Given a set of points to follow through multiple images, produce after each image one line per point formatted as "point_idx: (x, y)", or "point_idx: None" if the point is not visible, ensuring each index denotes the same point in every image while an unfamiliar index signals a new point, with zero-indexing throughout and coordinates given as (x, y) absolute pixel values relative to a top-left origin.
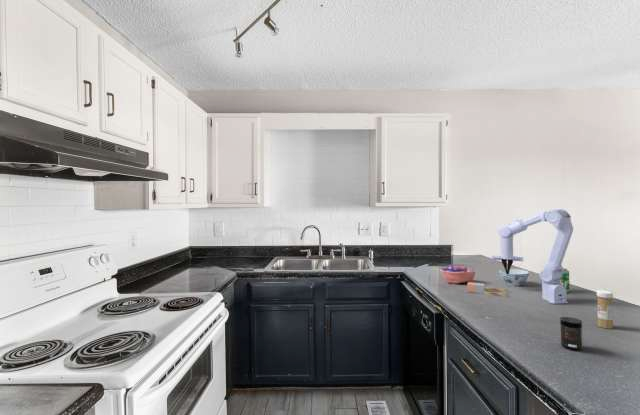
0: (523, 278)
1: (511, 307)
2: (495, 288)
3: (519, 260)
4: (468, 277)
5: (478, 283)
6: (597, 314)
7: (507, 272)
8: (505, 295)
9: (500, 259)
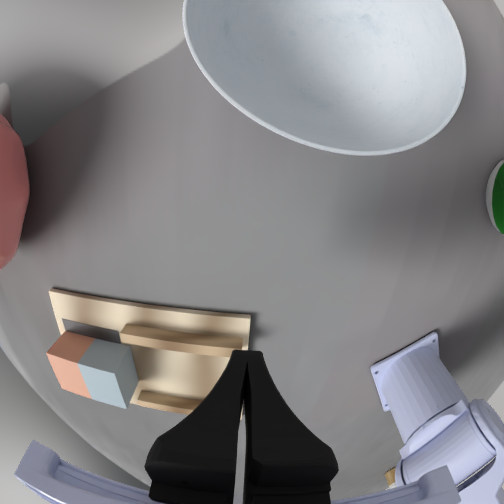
0: (402, 129)
1: (243, 461)
2: (175, 344)
3: (397, 497)
4: (9, 254)
5: (90, 374)
6: (391, 488)
7: (244, 395)
8: None
9: (143, 500)
